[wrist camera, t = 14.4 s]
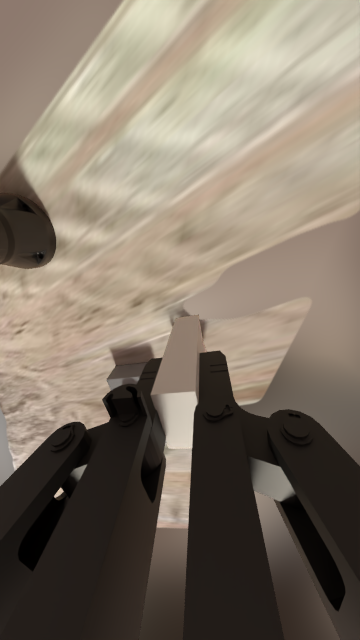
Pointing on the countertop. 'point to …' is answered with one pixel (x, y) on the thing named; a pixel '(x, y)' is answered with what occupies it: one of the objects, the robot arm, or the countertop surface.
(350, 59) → the countertop surface
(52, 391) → the countertop surface
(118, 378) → the panel
